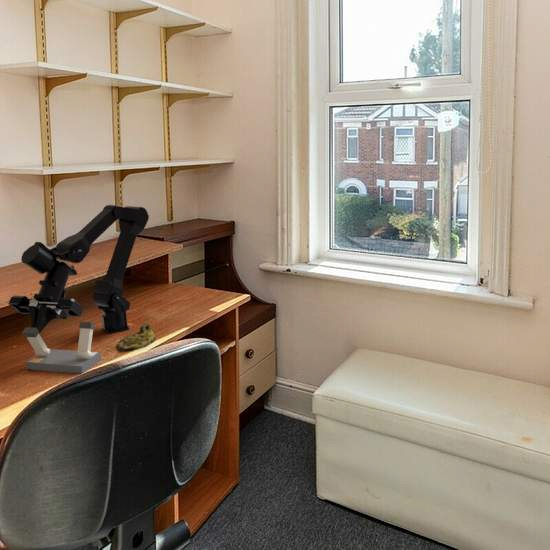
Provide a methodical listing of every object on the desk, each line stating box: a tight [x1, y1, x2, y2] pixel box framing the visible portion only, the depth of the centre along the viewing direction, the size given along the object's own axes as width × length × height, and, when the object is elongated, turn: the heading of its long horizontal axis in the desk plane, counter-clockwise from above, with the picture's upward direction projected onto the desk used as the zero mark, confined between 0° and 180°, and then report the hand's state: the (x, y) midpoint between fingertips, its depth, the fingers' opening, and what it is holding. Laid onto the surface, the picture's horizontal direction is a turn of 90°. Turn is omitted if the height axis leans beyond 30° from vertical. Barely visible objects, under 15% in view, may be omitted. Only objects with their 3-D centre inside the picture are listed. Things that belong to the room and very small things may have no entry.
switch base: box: [24, 348, 102, 375], centre depth 145 cm, size 9×16×2 cm, turn 77°
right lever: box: [76, 321, 96, 358], centre depth 144 cm, size 2×3×9 cm, turn 77°
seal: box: [117, 322, 157, 352], centre depth 159 cm, size 9×5×15 cm
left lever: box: [21, 326, 51, 356], centre depth 144 cm, size 2×3×9 cm
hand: (34, 335), depth 143 cm, fingers closed, pressing on left lever
